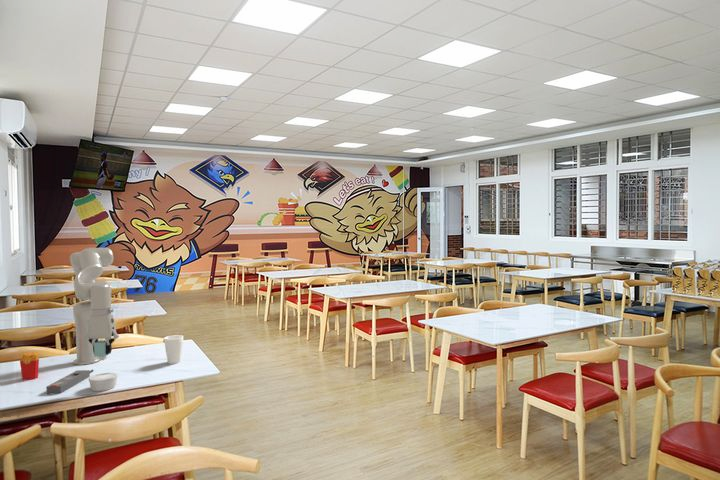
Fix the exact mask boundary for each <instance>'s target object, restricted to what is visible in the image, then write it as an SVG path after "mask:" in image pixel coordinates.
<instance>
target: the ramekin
mask: <svg viewBox="0 0 720 480" xmlns="http://www.w3.org/2000/svg"><path fill="white" fill-rule="evenodd" d="M117 378H118V373H116V372H102V373H97V374H94V375H91V376H90V377H88V382H89V387H90V389H91V390H92V391H93V392H105V391H109V390H111V389H114V388H115V387H116V385H117V380H118V379H117Z"/></svg>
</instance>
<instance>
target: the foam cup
mask: <svg viewBox="0 0 720 480" xmlns="http://www.w3.org/2000/svg"><path fill="white" fill-rule="evenodd" d="M163 343H164V347H165V353H166V359H167V364H169V365H176V364H180V363H181V362H182V353H183V344H184V335H182V334H181V335H180V334H174V335H168V336H165V337H163Z"/></svg>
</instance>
